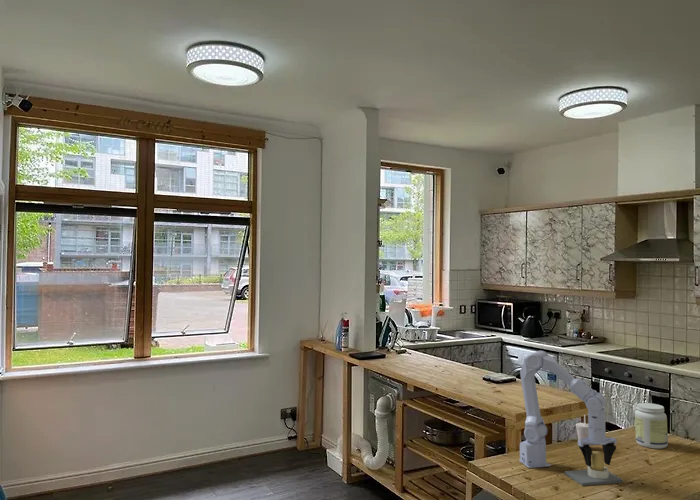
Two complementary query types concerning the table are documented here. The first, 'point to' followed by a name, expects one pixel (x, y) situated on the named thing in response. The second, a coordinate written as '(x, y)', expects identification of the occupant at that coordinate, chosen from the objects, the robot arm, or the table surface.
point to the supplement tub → (651, 426)
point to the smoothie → (582, 430)
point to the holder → (593, 476)
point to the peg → (597, 461)
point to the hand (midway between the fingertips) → (597, 464)
